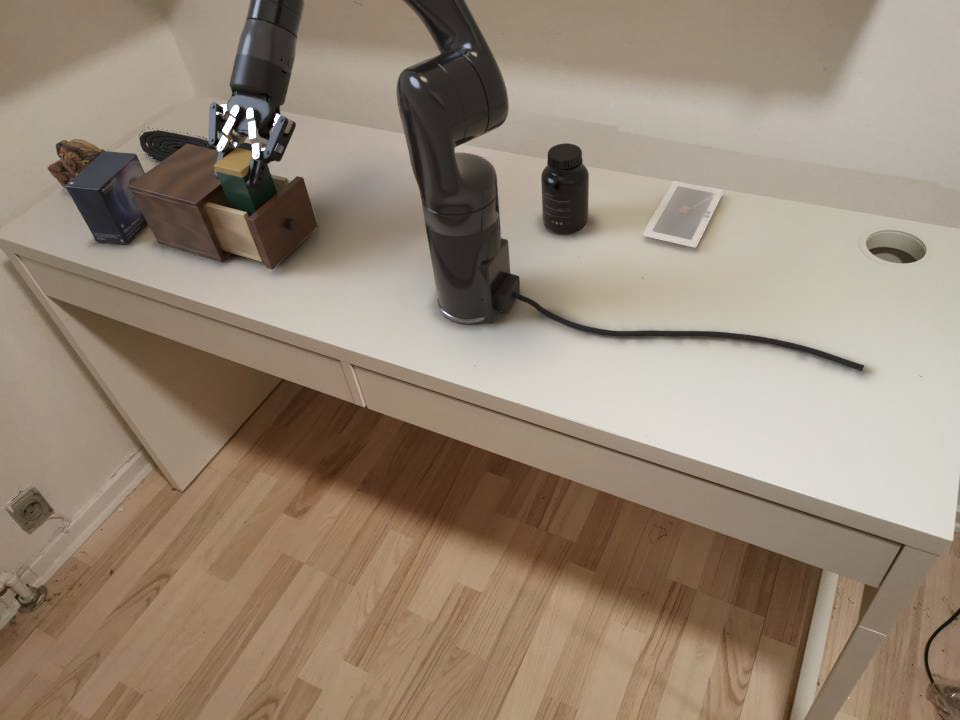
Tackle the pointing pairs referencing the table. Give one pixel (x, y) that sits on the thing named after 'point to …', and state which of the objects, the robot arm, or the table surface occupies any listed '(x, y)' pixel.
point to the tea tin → (243, 182)
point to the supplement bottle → (565, 190)
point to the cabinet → (181, 201)
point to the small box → (109, 197)
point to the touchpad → (683, 214)
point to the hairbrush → (173, 143)
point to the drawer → (264, 223)
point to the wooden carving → (72, 159)
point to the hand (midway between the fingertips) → (236, 183)
